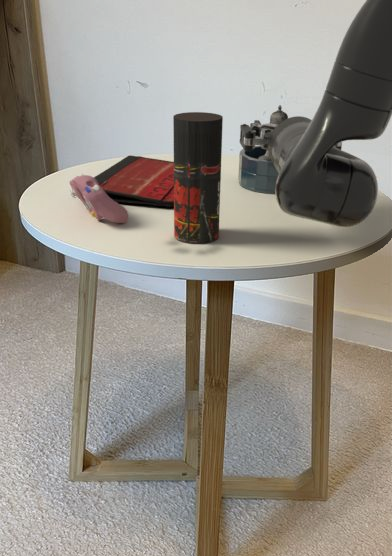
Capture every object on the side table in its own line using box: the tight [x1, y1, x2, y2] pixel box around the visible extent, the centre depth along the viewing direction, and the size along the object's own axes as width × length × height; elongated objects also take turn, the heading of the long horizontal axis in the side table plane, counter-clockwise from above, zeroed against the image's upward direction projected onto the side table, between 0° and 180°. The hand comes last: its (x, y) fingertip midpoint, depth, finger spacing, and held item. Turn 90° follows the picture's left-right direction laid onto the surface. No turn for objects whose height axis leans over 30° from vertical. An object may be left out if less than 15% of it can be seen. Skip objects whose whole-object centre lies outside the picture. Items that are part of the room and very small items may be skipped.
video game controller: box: [69, 173, 129, 224], centre depth 84 cm, size 10×5×7 cm, turn 27°
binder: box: [93, 155, 174, 208], centre depth 98 cm, size 16×2×21 cm
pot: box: [237, 145, 279, 195], centre depth 100 cm, size 12×12×5 cm
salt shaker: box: [258, 104, 289, 161], centre depth 98 cm, size 6×6×12 cm
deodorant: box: [172, 111, 224, 245], centre depth 76 cm, size 6×6×15 cm
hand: (283, 127), depth 92 cm, fingers open, 8 cm apart
